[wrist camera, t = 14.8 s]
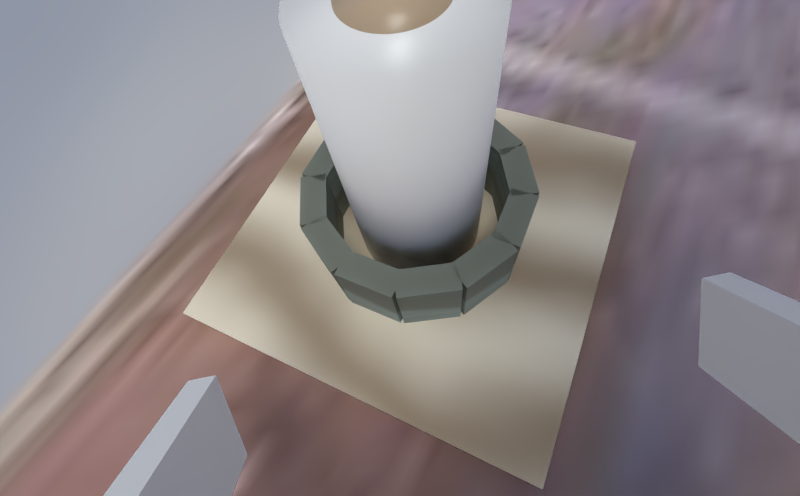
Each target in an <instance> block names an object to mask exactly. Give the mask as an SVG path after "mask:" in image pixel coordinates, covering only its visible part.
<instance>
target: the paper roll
mask: <svg viewBox="0 0 800 496" xmlns="http://www.w3.org/2000/svg"><path fill="white" fill-rule="evenodd" d="M511 4H512V0H281V1H280V5H279V11H278V12H279V23H280V27H281V30H282V33H283V36H284V38H285V41H286V43H287V46H288V48H289V51H290V53H291V56H292V58H293V61H294V64H295V66H296V69H297V71H298V74H299V76H300V79H301V82H302V84H303V87H304V89H305V92H306V94H307V97H308V99H309V102H310V104H311V107H312V110H313V112H314V115H315V117H316V120H317V122H318V125H319V127H320V130H321V132H322V135H323V138H324V140H325V143H326V145H327V148H328V150H329V153H330V155H331V158H332V160H333V163H334V166H335V168H336V171H337V173H338V176H339V178H340V181H341V183H342V186H343V188H344V191H345V194H346V196H347V199H348V201H349V204H350V206H351V209H352V211H353V214H354V216H355V219H356V222H357V224H358V227H359V229H360V232H361V234H362V237H363V239H364V242H365V244H366V247H367V249H368V251H369V253H370V254H371V256H372V257H373V258H374V259H375V260H376V261H378V262H381V263H384V264H386V265H389V266H391V267H394V268H397V269H406V268H414V267H421V266H429V265H437V264H444V263H452V262H454V261H455V260H456V259H458V258H459V257H461V256H462V255H463V254H465V253H466V252H468V251H469V250H470V249H472V248H473V246H474V244H475V241H476V238H477V233H478V227H479V220H480V214H481V207H482V200H483V193H484V187H485V180H486V173H487V166H488V159H489V153H490V146H491V139H492V132H493V126H494V119H495V112H496V105H497V99H498V92H499V85H500V78H501V71H502V65H503V58H504V51H505V44H506V38H507V31H508V24H509V17H510V11H511Z"/></svg>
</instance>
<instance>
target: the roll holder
mask: <svg viewBox="0 0 800 496" xmlns="http://www.w3.org/2000/svg"><path fill="white" fill-rule="evenodd" d="M635 144H636V141H633V140H629V139H624V138H620V137H616V136H612V135H608V134H604V133H600V132H596V131H592V130H588V129H583V128H579V127H575V126H571V125H567V124H563V123H559V122H555V121H551V120H546V119H542V118H538V117H534V116H530V115H526V114H522V113H518V112H514V111H509V110H505V109H501V108H497V107H496V112H495V119H494V126H493V132H492V139H491V146H490V153H489V159H488V166H487V173H486V180H485V187H484V193H483V200H482V207H481V214H480V220H479V227H478V233H477V238H476V241H475V244H474V246H473V248H472V249H470V250H469V251H468V252H466V253H465V254H463V255H462V256H461V257H459V258H458V259H456V260H455V261H454V262H452V263H444V264H437V265H429V266H421V267H414V268H406V269H397V268H394V267H391V266H389V265H386V264H384V263H381V262H378V261H376V260H375V259H374V258H373V257H372V256H371V254H370V253H369V251H368V249H367V247H366V244H365V242H364V239H363V237H362V234H361V232H360V229H359V227H358V224H357V222H356V219H355V216H354V214H353V211H352V209H351V206H350V204H349V201H348V199H347V196H346V194H345V191H344V188H343V186H342V183H341V181H340V178H339V176H338V173H337V171H336V168H335V166H334V163H333V160H332V158H331V155H330V153H329V150H328V148H327V145H326V143H325V140H324V138H323V135H322V132H321V130H320V127H319V125H318V122H317V120H316V119H315V121H314V122H313V124H312V125H311V127H310V128H309V130H308V131H307V133H306V134H305V135H304V137H303V138H302V140H301V141H300V143H299V144H298V146H297V147H296V149H295V150H294V152H293V153H292V154H291V156H290V157H289V159H288V160H287V162H286V163H285V165H284V166H283V168H282V169H281V171H280V172H279V173H278V175H277V176H276V178H275V179H274V181H273V182H272V184H271V185H270V187H269V188H268V190H267V191H266V192H265V194H264V195H263V197H262V198H261V200H260V201H259V203H258V204H257V206H256V207H255V209H254V210H253V211H252V213H251V214H250V216H249V217H248V219H247V220H246V222H245V223H244V225H243V226H242V228H241V229H240V230H239V232H238V233H237V235H236V236H235V238H234V239H233V241H232V242H231V244H230V245H229V247H228V248H227V249H226V251H225V252H224V254H223V255H222V257H221V258H220V260H219V261H218V263H217V264H216V266H215V267H214V268H213V270H212V271H211V273H210V274H209V276H208V277H207V279H206V280H205V282H204V283H203V284H202V286H201V287H200V289H199V290H198V292H197V293H196V295H195V296H194V298H193V299H192V301H191V302H190V303H189V305H188V306H187V308H186V309H185V311H184V312H183V313H184V314H186V315H188V316H190V317H192V318H194V319H196V320H198V321H200V322H202V323H204V324H206V325H208V326H210V327H212V328H214V329H216V330H218V331H220V332H222V333H224V334H226V335H228V336H230V337H232V338H234V339H236V340H238V341H240V342H242V343H244V344H246V345H248V346H250V347H253V348H255V349H257V350H259V351H261V352H263V353H265V354H267V355H269V356H271V357H273V358H275V359H277V360H279V361H281V362H283V363H285V364H287V365H289V366H291V367H293V368H295V369H297V370H299V371H301V372H303V373H305V374H307V375H310V376H312V377H314V378H316V379H318V380H320V381H322V382H324V383H326V384H328V385H330V386H332V387H334V388H336V389H338V390H340V391H342V392H344V393H346V394H348V395H350V396H352V397H354V398H356V399H358V400H360V401H362V402H364V403H367V404H369V405H371V406H373V407H375V408H377V409H379V410H381V411H383V412H385V413H387V414H389V415H391V416H393V417H395V418H397V419H399V420H401V421H403V422H405V423H407V424H409V425H411V426H413V427H415V428H417V429H419V430H421V431H424V432H426V433H428V434H430V435H432V436H434V437H436V438H438V439H440V440H442V441H444V442H446V443H448V444H450V445H452V446H454V447H456V448H458V449H460V450H462V451H464V452H466V453H468V454H470V455H472V456H474V457H476V458H478V459H481V460H483V461H485V462H487V463H489V464H491V465H493V466H495V467H497V468H499V469H501V470H503V471H505V472H507V473H509V474H511V475H513V476H515V477H517V478H519V479H521V480H523V481H525V482H527V483H529V484H531V485H533V486H535V487H538V488H540V489H542V490H543V487H544V484H545V480H546V476H547V473H548V469H549V465H550V461H551V458H552V454H553V450H554V446H555V443H556V439H557V435H558V431H559V428H560V424H561V420H562V417H563V413H564V409H565V405H566V402H567V398H568V394H569V390H570V387H571V383H572V379H573V375H574V372H575V368H576V364H577V361H578V357H579V353H580V349H581V346H582V342H583V338H584V334H585V331H586V327H587V323H588V319H589V316H590V312H591V308H592V305H593V301H594V297H595V293H596V290H597V286H598V282H599V278H600V275H601V271H602V267H603V263H604V260H605V256H606V252H607V249H608V245H609V241H610V237H611V234H612V230H613V226H614V222H615V219H616V215H617V211H618V207H619V204H620V200H621V196H622V193H623V189H624V185H625V181H626V178H627V174H628V170H629V166H630V163H631V159H632V155H633V151H634V148H635Z"/></svg>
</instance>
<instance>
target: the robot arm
mask: <svg viewBox="0 0 800 496" xmlns="http://www.w3.org/2000/svg"><path fill="white" fill-rule="evenodd" d="M698 366H699V367H700V368H701V369H703V370H704V371H705V372H706V373H708V374H709V375H710V376H712V377H713V378H714V379H716V380H717V381H718V382H719V383H721V384H722V385H723V386H725V387H726V388H727V389H729V390H730V391H731V392H732V393H734V394H735V395H736V396H738V397H739V398H740V399H742V400H743V401H744V402H745V403H747V404H748V405H749V406H751V407H752V408H753V409H755V410H756V411H757V412H758V413H760V414H761V415H762V416H764V417H765V418H766V419H768V420H769V421H770V422H771V423H773V424H774V425H775V426H777V427H778V428H779V429H781V430H782V431H783V432H784V433H786V434H787V435H788V436H790V437H791V438H792V439H794V440H795V441H796V442H797V443H799V444H800V302H799V301H796V300H794V299H792V298H789V297H787V296H785V295H782V294H780V293H778V292H775V291H773V290H771V289H769V288H766V287H764V286H762V285H759V284H757V283H755V282H752V281H750V280H748V279H745V278H743V277H741V276H738V275H736V274H734V273H731V272H728V273H723V274H718V275H713V276H708V277H703V278H702V280H701V307H700V334H699V360H698ZM247 456H248V455H247V452H246V450H245V447H244V445H243V442H242V440H241V437H240V434H239V432H238V429H237V427H236V424H235V422H234V419H233V417H232V414H231V412H230V409H229V407H228V404H227V402H226V399H225V397H224V394H223V392H222V389H221V387H220V384H219V382H218V379H217V377H216V375H215V376H210V377H205V378H200V379H195V380H190V381H188V382H187V383H186V384H185V386H184V387H183V388H182V390H181V391H180V392H179V394H178V395H177V396H176V398H175V399H174V401H173V402H172V403H171V405H170V406H169V407H168V409H167V410H166V411H165V413H164V414H163V415H162V417H161V418H160V420H159V421H158V422H157V424H156V425H155V426H154V428H153V429H152V430H151V432H150V433H149V434H148V436H147V437H146V439H145V440H144V441H143V443H142V444H141V445H140V447H139V448H138V449H137V451H136V452H135V453H134V455H133V456H132V458H131V459H130V460H129V462H128V463H127V464H126V466H125V467H124V468H123V470H122V471H121V472H120V474H119V475H118V477H117V478H116V479H115V481H114V482H113V483H112V485H111V486H110V487H109V489H108V490H107V491H106V493H105V494H104V496H232V494H233V491H234V489H235V486H236V484H237V481H238V479H239V476H240V474H241V471H242V469H243V466H244V463H245V461H246V458H247Z"/></svg>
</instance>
